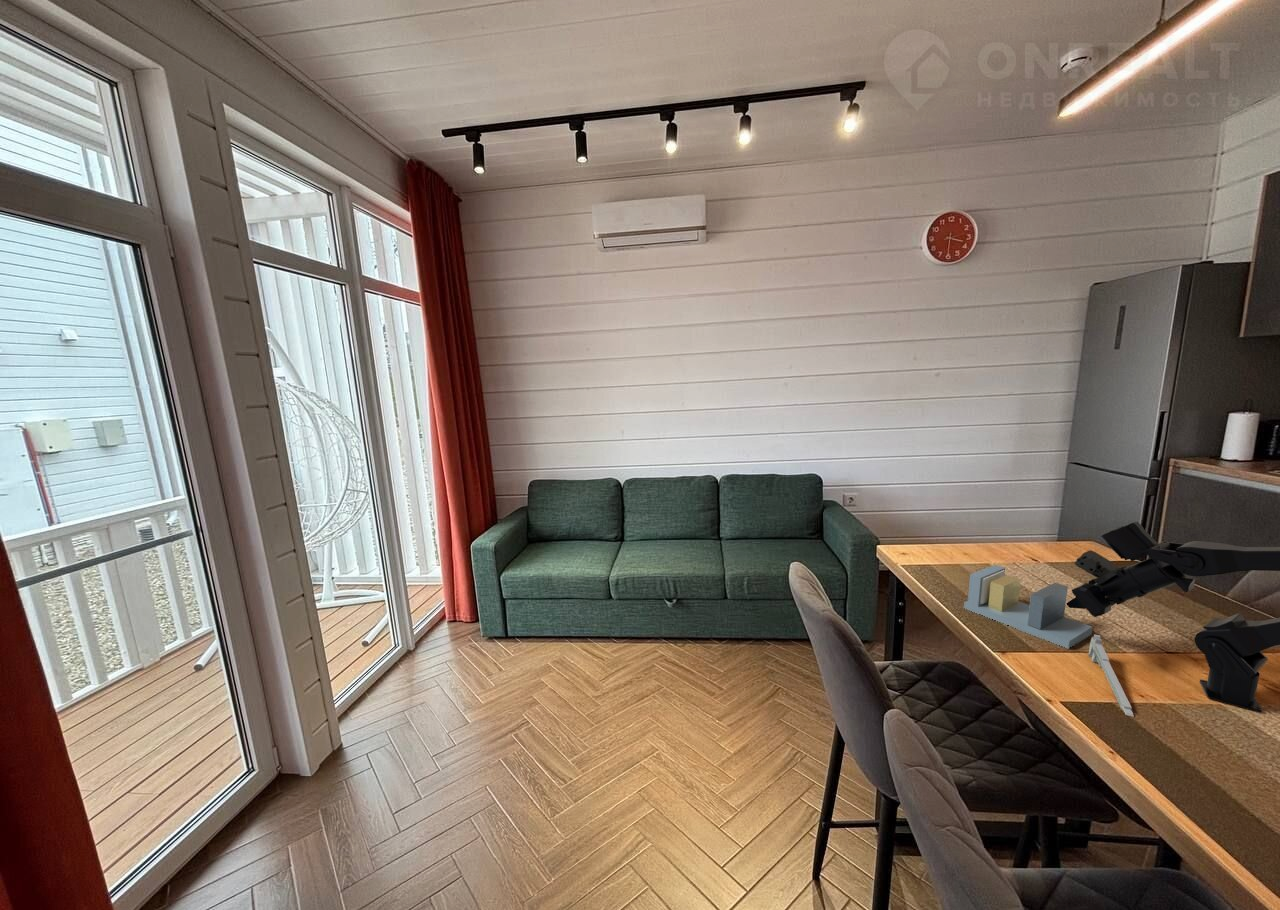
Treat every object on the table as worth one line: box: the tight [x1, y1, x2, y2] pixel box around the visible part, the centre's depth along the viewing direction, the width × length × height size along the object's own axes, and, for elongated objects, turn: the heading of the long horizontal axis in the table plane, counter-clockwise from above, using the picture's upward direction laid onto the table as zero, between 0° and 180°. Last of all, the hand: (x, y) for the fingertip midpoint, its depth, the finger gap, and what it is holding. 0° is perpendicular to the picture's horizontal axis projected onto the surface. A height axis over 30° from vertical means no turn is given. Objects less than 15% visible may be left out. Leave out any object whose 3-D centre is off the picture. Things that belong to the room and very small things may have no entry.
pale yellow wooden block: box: [988, 574, 1021, 612], centre depth 121 cm, size 3×8×7 cm, turn 118°
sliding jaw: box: [1028, 582, 1068, 629], centre depth 113 cm, size 3×12×8 cm, turn 118°
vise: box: [963, 564, 1093, 650], centre depth 117 cm, size 22×12×10 cm, turn 28°
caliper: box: [1088, 634, 1134, 718], centre depth 93 cm, size 20×1×6 cm, turn 151°
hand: (1068, 605), depth 110 cm, fingers closed
